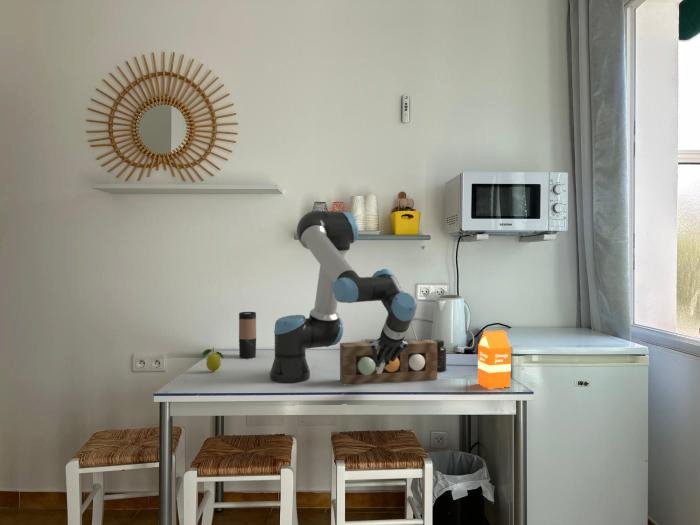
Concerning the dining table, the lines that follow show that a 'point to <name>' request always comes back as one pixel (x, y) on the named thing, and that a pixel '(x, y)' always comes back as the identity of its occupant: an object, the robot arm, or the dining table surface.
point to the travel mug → (247, 335)
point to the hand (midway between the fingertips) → (378, 370)
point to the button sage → (366, 365)
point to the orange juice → (494, 360)
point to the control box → (357, 350)
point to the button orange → (393, 365)
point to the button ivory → (416, 361)
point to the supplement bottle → (441, 356)
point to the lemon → (213, 359)
